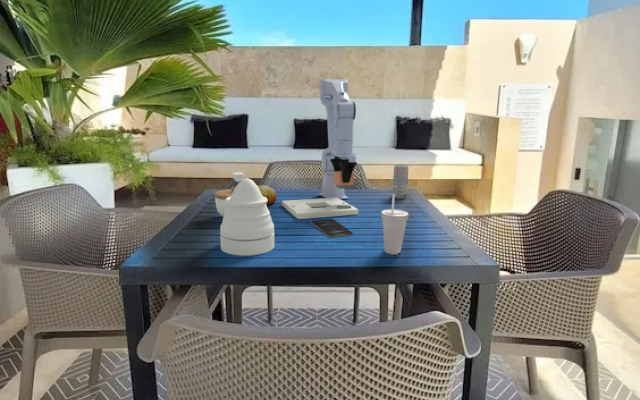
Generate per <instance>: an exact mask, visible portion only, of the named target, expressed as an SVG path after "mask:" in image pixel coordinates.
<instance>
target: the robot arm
mask: <svg viewBox="0 0 640 400" xmlns="http://www.w3.org/2000/svg"><path fill="white" fill-rule="evenodd" d="M348 93H349V82H348V80H347V78H343V79H341V78H324V77H323V78H321V79H320V81H319V94H320V95H319V96H320V97H319V99H320V103H321V104H322V105H324V107H325V110H326V121H327V123H326V124H327V138H328V139H327V141H328V146H327V148H325V149H323V151H322V153H321V161H320V162H321V163H320V165H321V171H322V172H323V173H324V175H323V176H322V181H321V185H322V186H321V193H319V195H320V196H322V198H336V197H337V198H339V199H341V200H347V199H349V197H348V196H347V195H345V189H340V188H338V187H336V184H335V183H333V182H334V171H342V181H343V183H349V182H350V179H351V175H352V172H353V173H354V169H355V167H356V165H357V163H358V162H357V156H356V153H355V152H353V143H354V142H353V140H354V121H355V119H356V116H357V105H356V103H355V101H351V99H350V97H349V94H348Z"/></svg>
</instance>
